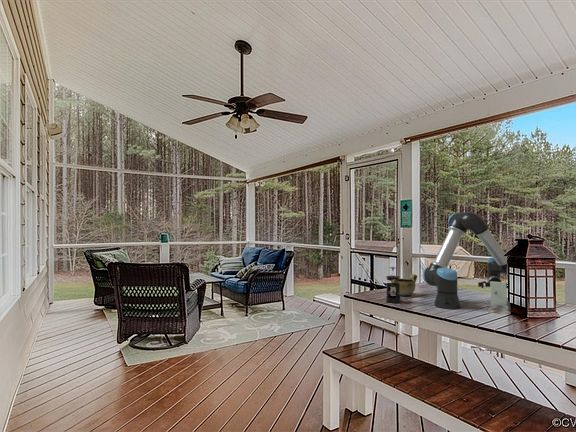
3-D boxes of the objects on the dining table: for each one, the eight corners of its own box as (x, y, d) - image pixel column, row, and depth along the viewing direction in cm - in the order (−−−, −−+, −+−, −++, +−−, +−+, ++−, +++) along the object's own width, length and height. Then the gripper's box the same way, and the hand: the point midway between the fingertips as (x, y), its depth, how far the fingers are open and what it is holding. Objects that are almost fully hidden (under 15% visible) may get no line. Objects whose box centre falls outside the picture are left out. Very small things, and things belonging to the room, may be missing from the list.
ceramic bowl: (398, 298, 249) (398, 276, 249) (383, 294, 265) (383, 273, 265) (423, 295, 257) (423, 275, 257) (408, 291, 273) (407, 272, 273)
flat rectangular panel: (491, 309, 208) (490, 282, 209) (490, 308, 211) (490, 281, 212) (507, 311, 205) (506, 283, 205) (506, 310, 208) (505, 282, 208)
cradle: (488, 312, 208) (488, 301, 208) (487, 310, 214) (487, 299, 214) (510, 314, 203) (510, 303, 203) (509, 312, 209) (509, 301, 209)
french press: (404, 303, 234) (403, 268, 235) (391, 304, 231) (391, 268, 232) (394, 299, 245) (393, 266, 246) (381, 300, 243) (381, 266, 243)
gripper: (517, 289, 231) (521, 295, 212) (473, 286, 242) (474, 292, 223) (517, 278, 231) (521, 283, 212) (473, 275, 242) (474, 280, 223)
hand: (497, 287), depth 217 cm, fingers open, 13 cm apart
